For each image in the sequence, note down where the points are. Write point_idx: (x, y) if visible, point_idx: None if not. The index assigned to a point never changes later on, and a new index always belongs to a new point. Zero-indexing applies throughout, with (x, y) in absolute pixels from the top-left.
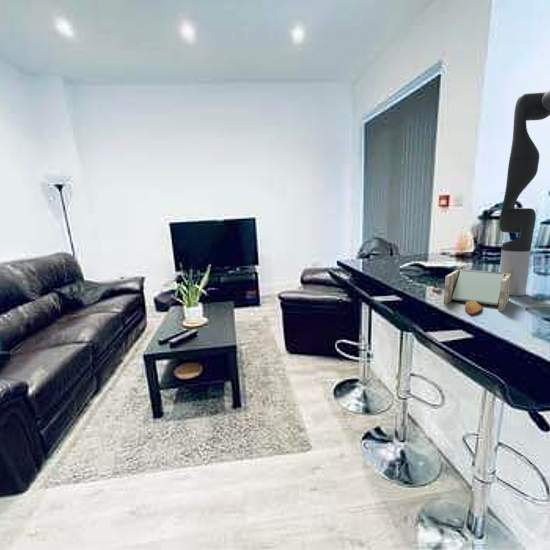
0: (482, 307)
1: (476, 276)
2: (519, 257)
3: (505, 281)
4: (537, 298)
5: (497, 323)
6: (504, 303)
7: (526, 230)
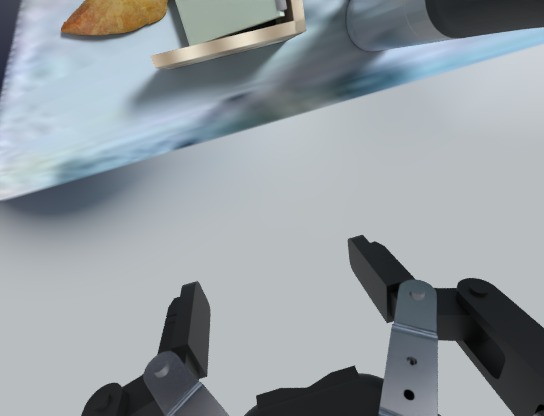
0: (149, 23)
1: None
2: (411, 16)
3: (159, 66)
4: (353, 83)
5: (70, 97)
6: (195, 62)
7: (498, 11)
